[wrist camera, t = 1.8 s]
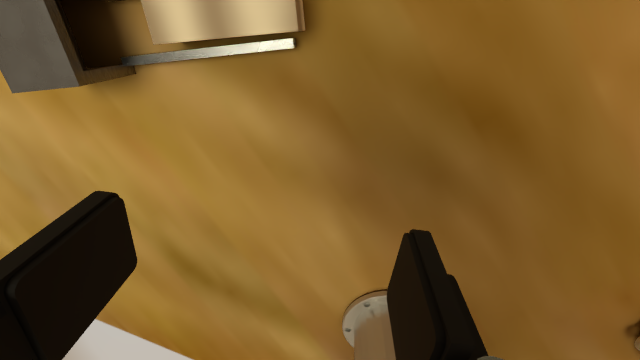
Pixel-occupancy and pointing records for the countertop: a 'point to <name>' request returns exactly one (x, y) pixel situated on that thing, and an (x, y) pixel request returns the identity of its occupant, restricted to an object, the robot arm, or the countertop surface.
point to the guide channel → (208, 51)
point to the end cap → (44, 49)
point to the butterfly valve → (637, 343)
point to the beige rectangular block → (220, 18)
